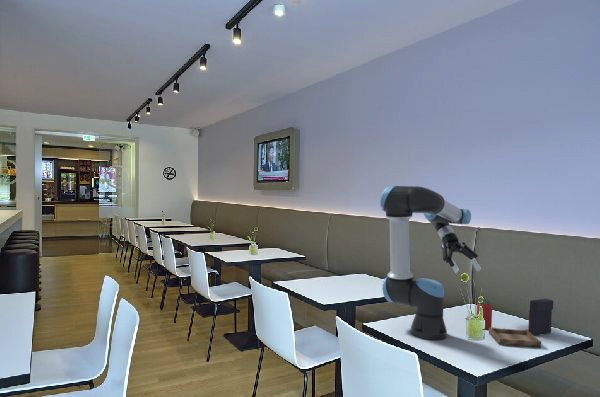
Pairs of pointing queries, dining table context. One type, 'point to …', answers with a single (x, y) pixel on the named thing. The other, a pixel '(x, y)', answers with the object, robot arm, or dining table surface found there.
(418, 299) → the robot arm
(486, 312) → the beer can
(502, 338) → the walnut tray
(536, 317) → the dark grey upright block
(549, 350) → the dining table surface
